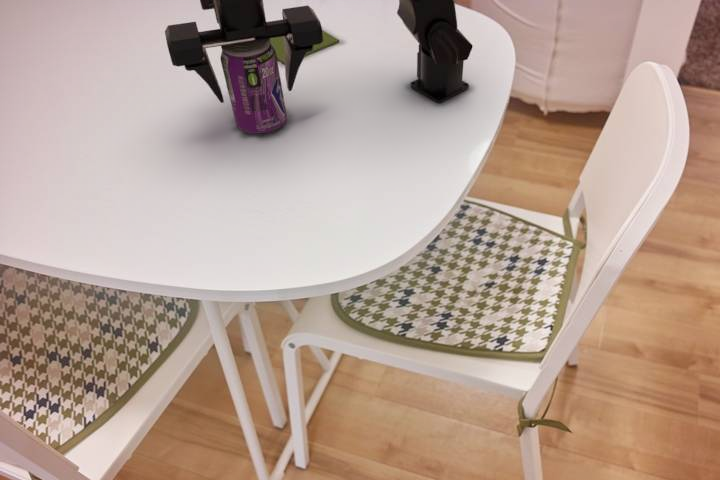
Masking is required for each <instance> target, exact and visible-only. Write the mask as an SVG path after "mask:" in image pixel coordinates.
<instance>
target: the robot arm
mask: <svg viewBox="0 0 720 480" xmlns="http://www.w3.org/2000/svg"><path fill="white" fill-rule="evenodd" d="M398 1H399V2H398V8H397V12H396V14H397V16H398V17H399V18H400V20H401V21H402V23H403V25H404V26H405V28H406V29H407V30H408V31H409V33H410V34H411V35H412V37H413V38H414V39H415V41H416V42H417V43H418V52H417V53H416V78H417V79H415V80H413V81H411V82H410V84H409V85H410V88H412V89H414V90H416V91H417V92H419V93H420V94H422V95H424V96H426V97H427V98H429V99H431V100H433V102H436V103H439V104H440V103H442V102H444V101H447V100H449V99H451V98H453V97H454V96H456V95H458V94H460V93H462V92H464V91H466V90H468V89H470V84H469V83H468V82H466V81H464V80H463V75H464V62H465V61H467V60H468V59H469V57H470V55H471V52H472V49H473V47H474V46H473V44H472V43H471V42H470V40H468V38H467V37H466V36H465V35H464V34H463V33H462V31H461V30H459V29H458V19H457V11H456V4H455V0H398ZM199 3H200V6H201V10H203V11H208V10H212V9H213V10H214V15H215V19H216V23H217V24H218V26H219V28H216V29H209V30H202V31H199V28H198V25H197V21H190V22H182V23H176V24H170V25H167V26H166V28H165V30H164V35H165V40H166V47H167V49H168V53H169V57H170V60H171V64H172V66H175V67H184V69H185V70H186V71H187V72H191V71H194V72H195V73H196V74H197V76H199V77H201V79H202V80H203V81H204V82H205V83H206V84H207V86H208V87H209V89H210V90H211V91H212V92H213V94H214V96H215V97H216V99H218V101H219V102H220V103H221V104H224V103H225V100H224V96H223V93H222V89H221V86H220V84H219V80H218V78H217V75H216V72H215V70H214V68H213V65H212V62H211V60H210V58H209V54H208V52H207V49H210V48H217V47H221V46H223V45H230V44H236V43H243V42H249V41H256V40H262V39H269V38H275V37H282V36H283V41H284V49H285V64H284V72H285V73H284V75H285V83H286V88H287V90H288V92H291V91H292V90H293V88H294V84H295V82H296V78H297V76H298V73H299V70H300V67H301V64H302V63H303V60H304V58H305V57H306V56H305V55H306V53H307V52H309V51H312V50H313V45H317V44H321V43H322V42H323V34H322V30H323V28H322V23H321V21H320V19H319V18H318V16H317V14H316V12H315V10H314V9H313V8H312V7H310V6H309V5H301V6H294V7H288V8H282V12H281V15H282V19H277V20H271V21H270V20H269V21H267V19H266V11H265V7H264V6H265V5H264V0H199Z"/></svg>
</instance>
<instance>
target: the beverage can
mask: <svg viewBox="0 0 720 480" xmlns="http://www.w3.org/2000/svg"><path fill="white" fill-rule="evenodd" d="M220 47H221V53H220V63H221V68H222V71H223V76H224V80H225V84H226V88H227V93H228V97H229V100H230V106H231V110H232V113H233V118H234V121H235V125H236V127H238V129H240V130H241V131H244V132H245V133H251V134H266V133H269V132H272V131H274V130H277V129H278V128H280V127H281V126H282V125H284V124H285V122H286V121H287V116H288V115H287V110H286V104H285V97H284V92H283V85H282V79H281V74H280V67H279V63H278V60H277V56H276V51H275V49H274V48H273V46H272V45H271V44H270V38H269V39H262V40H256V41H249V42H243V43H236V44H230V45H223V46H220Z"/></svg>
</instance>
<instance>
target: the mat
mask: <svg viewBox="0 0 720 480" xmlns="http://www.w3.org/2000/svg"><path fill="white" fill-rule="evenodd" d="M322 34H323V42H322V43H321V44H317V45H313V50H312V51H309V52H307V53H306V55H305V57H306V56H309V55H311V54H314V53H316V52H318V51H321V50H324V49H326V48H329V47H332V46H333V45H336V44H338V43H340V39H339V38H337V37H335V36H333V35H331V34H329V33H328V32H326V31H324V30H323V29H322ZM270 44H271V45H272V46H273V48H274V49H275V51H276V56H277V61H279V62H280V63H281V64H283V65H285V49H284V41H283V36H282V37H275V38H270Z"/></svg>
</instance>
